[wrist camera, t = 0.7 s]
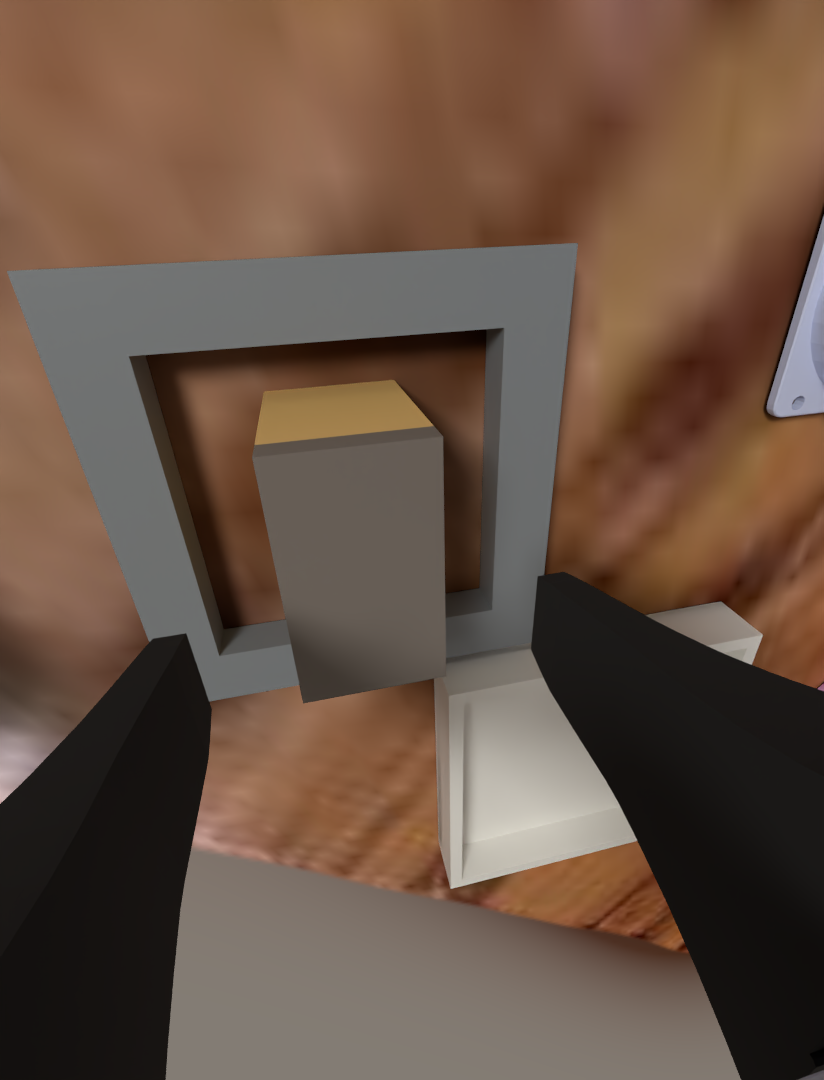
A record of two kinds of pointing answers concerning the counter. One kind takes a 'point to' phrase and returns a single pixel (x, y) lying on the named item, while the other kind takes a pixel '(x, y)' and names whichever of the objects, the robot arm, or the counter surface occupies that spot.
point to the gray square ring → (289, 318)
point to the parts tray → (533, 758)
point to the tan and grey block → (355, 534)
